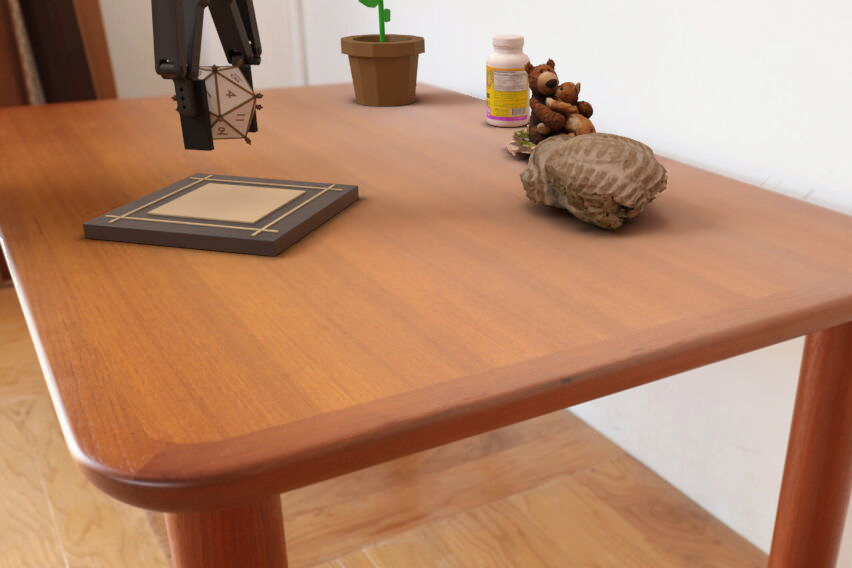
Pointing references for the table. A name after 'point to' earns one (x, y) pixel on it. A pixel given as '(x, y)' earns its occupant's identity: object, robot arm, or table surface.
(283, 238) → the game board
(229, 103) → the game die
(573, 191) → the fossil
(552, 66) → the bear figurine
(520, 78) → the supplement bottle
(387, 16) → the flowerpot
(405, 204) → the table surface
